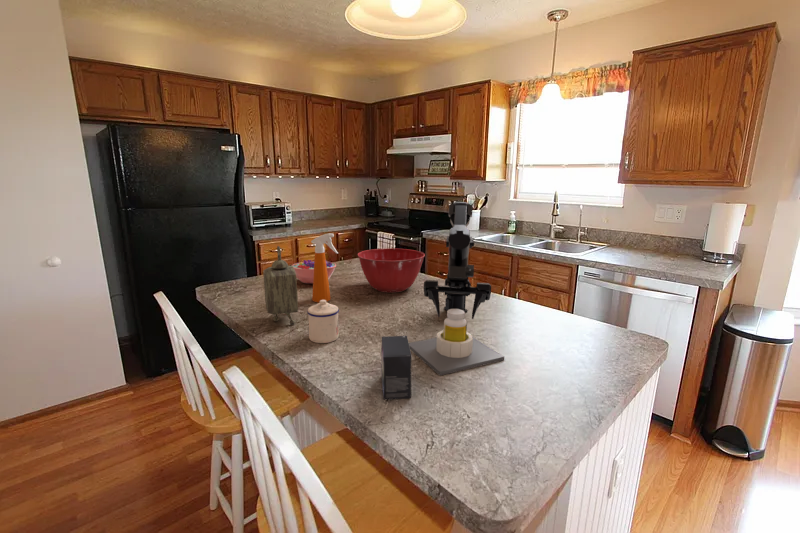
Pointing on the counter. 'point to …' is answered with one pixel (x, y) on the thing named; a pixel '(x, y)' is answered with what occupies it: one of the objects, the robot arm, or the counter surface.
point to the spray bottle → (321, 268)
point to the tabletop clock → (280, 288)
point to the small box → (396, 367)
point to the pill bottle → (455, 326)
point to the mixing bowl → (391, 268)
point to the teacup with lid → (323, 322)
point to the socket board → (454, 362)
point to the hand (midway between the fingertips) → (455, 317)
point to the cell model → (310, 270)
